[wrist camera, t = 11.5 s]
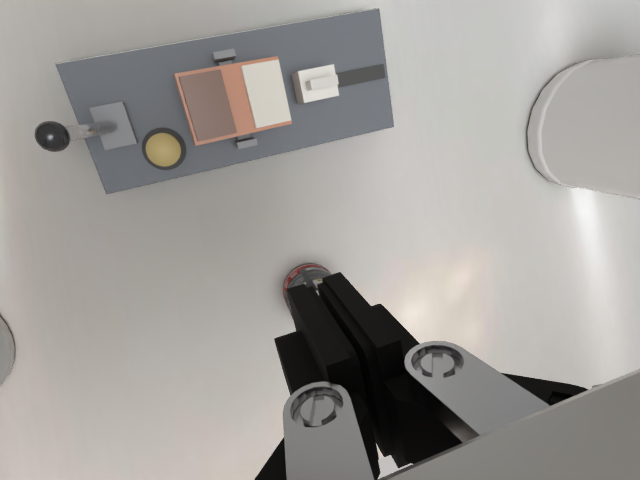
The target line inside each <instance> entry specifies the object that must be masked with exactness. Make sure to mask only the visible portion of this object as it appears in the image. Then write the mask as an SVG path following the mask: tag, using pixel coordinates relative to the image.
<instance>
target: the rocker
mask: <svg viewBox="0 0 640 480" xmlns="http://www.w3.org/2000/svg"><path fill="white" fill-rule="evenodd" d="M173 76H174V79H175V82H176V86H177V89H178V92H179V96H180V99H181V102H182V106H183V109H184V112H185V116H186V119H187V122H188V126H189V129H190V132H191V136H192V139H193V142H194V145H195V146H198V145H202V144H206V143H211V142H215V141H219V140H224V139H228V138H232V137H237V136H241V135H245V134H250V133H254V132H258V131H263V130H267V129H271V128H275V127H280V126H284V125H288V124H292V121H291V115H290V111H289V106H288V101H287V97H286V92H285V87H284V82H283V78H282V73H281V68H280V63H279V59H278V56H275V57H269V58H263V59H257V60H252V61H246V62H240V63H234V64H228V65H222V66H216V67H210V68H205V69H199V70H193V71H187V72H181V73H175V74H174V75H173Z"/></svg>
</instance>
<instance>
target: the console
mask: <svg viewBox="0 0 640 480" xmlns="http://www.w3.org/2000/svg"><path fill="white" fill-rule="evenodd" d="M275 56H278V59H279V63H280V68H281V73H282V78H283V82H284V87H285V92H286V97H287V101H288V106H289V111H290V115H291V121H292V124H288V125H284V126H280V127H275V128H271V129H267V130H263V131H258V132H254V133H250V134H245V135H241V136H237V137H232V138H228V139H224V140H219V141H215V142H211V143H206V144H202V145H198V146H195V145H194V142H193V139H192V136H191V132H190V129H189V126H188V122H187V119H186V116H185V112H184V109H183V106H182V102H181V99H180V96H179V92H178V89H177V86H176V82H175V79H174V76H173V75H174V74H175V73H181V72H187V71H193V70H199V69H205V68H210V67H216V66H222V65H228V64H234V63H240V62H246V61H252V60H257V59H263V58H269V57H275ZM332 64H334V68H335V74H336V75H337V76H338V82H339V84H337V85H338V91H339V96H335V97H330V98H325V99H321V100H316V101H311V102H307V103H300V104H297V99H296V94H295V90H294V85H293V80H292V75H291V74H293V73H295V72H297V71H302V70H307V69H312V68H317V67H322V66H327V65H332ZM56 67H57V69H58V72H59V74H60V77H61V79H62V82H63V85H64V87H65V90H66V92H67V95H68V97H69V100H70V102H71V105H72V107H73V110H74V113H75V115H76V118H77V120H78V123H79V125H81V124H88V123H95V122H102V121H111V122H113V123H114V125H115V131H114V132H112V133H109V134H104V135H99V136H94V137H89V138H85V141H86V143H87V146H88V148H89V151H90V153H91V156H92V159H93V161H94V164H95V166H96V169H97V171H98V174H99V176H100V179H101V181H102V184H103V187H104V189H105V192H106V194H110V193H114V192H118V191H123V190H127V189H131V188H135V187H140V186H144V185H148V184H152V183H157V182H161V181H165V180H169V179H174V178H178V177H182V176H186V175H191V174H195V173H199V172H203V171H208V170H212V169H216V168H220V167H225V166H229V165H233V164H238V163H242V162H246V161H250V160H255V159H259V158H263V157H267V156H272V155H276V154H280V153H284V152H289V151H293V150H297V149H301V148H306V147H310V146H314V145H318V144H323V143H327V142H331V141H335V140H340V139H344V138H348V137H352V136H357V135H361V134H365V133H369V132H374V131H378V130H382V129H386V128H391V127H394V123H393V115H392V107H391V99H390V91H389V83H388V75H387V67H386V59H385V51H384V43H383V35H382V27H381V19H380V11H379V9H376V8H375V9H369V10H363V11H357V12H351V13H345V14H340V15H334V16H328V17H322V18H316V19H310V20H305V21H299V22H293V23H287V24H281V25H275V26H270V27H264V28H258V29H252V30H246V31H240V32H235V33H229V34H223V35H217V36H211V37H205V38H200V39H194V40H188V41H182V42H176V43H170V44H164V45H159V46H153V47H147V48H141V49H135V50H129V51H124V52H118V53H112V54H106V55H100V56H94V57H89V58H83V59H77V60H71V61H65V62H59V63H58V64H56Z"/></svg>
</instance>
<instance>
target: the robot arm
mask: <svg viewBox="0 0 640 480" xmlns="http://www.w3.org/2000/svg"><path fill="white" fill-rule="evenodd" d="M317 288H318V293H319V295H318V293H317V292H316V290H315V289H314V287H313V286H310V287H306V285H305V284H304V283H303V284H300V285H297V286H294V287H290V288H287V289H286V291H287V296H288V300H289V304H290V308H291V312H292V316H293V319H294V323H295V327H296V332H293V333H290V334H287V335H284V336H281V337H278V338H275V339H274V340H275V344H276V347H277V351H278V354H279V358H280V362H281V365H282V369H283V372H284V376H285V379H286V382H287V385H288V389H289V392H290V395H291V396H290V397H289V398H288V400H287V402H286V403H285V405H284V410H283V426H284V438H283V439H282V441H281V442H280V444H279V445H278V447H277V448H276V449H275V451H274V452H273V454H272V455H271V457H270V458H269V459H268V461H267V462H266V464H265V465H264V467H263V468H262V470H261V471H260V472H259V474H258V475H257V477H256V478H255V480H377V479H378V477H379V474H380V469H379V464H378V459H379V458H378V452H377V447H376V444H377V445H378V447H379V449H380V451H381V453H382V454H383V456H384V457H386V456H389V455H391V456H392V458H393V459H394V461H395V463H396V465H397V466H398V468H400V467H402V466H405V465H407V464H410V463H413V465H410V466H408V467H406V468H403V469H401V470H399V471H396V472H394V473H392V474H390V475H387V476H385V477H382V478H380V479H378V480H640V369H638V370H636V371H633V372H631V373H629V374H626V375H624V376H621V377H619V378H616V379H614V380H611V381H609V382H606V383H604V384H600V385H594V386H592V389H590V390H588V389H586V388H583V387H579V386H575V385H571V384H566V383H559V382H553V381H547V380H541V379H535V378H529V377H523V376H517V375H511V374H504V373H500V372H498V371H497V370H495V369H494V368H492V367H491V366H489V365H488V364H486V363H485V362H483V361H482V360H480V359H479V358H477V357H476V356H474V355H472V354H471V353H469V352H468V351H466V350H465V349H463V348H462V347H460V346H458V345H456V344H453V343H449V342H445V341H431V342H425V343H422V344H419V343H418V341H417V340H416V339H415V338H414V337H413V336H412V335H411V334H410V333H409V332H408V331H407V330H406V329H405V328H404V327H403V326H402V325H401V324H400V323H399V322H398V321H397V320H396V319H395V318H394V317H393V316H392V315H391V314H390V312H389V311H388V310H387V309H386V308H385V307H384V306H383V305H381V304H377V305H374V306H370V305H369V304H368V302H367V301H366V300H365V299H364V298H363V297H362V296H361V295H360V294H359V292H358V291H357V290H356V289H355V288H354V287H353V286H352V285H351V283H350V282H349V281H348V280H347V279H346V278H345V277H344V276H343V275H342V273H340V272H339V273H336V274H333V275H329V276H326V277H323V278H322V283H320V284H317ZM14 355H15V347H14V342H13V338H12V335H11V333H10V331H9V329H8V327H7V325H6V324H5V322H4V321H3V320H2V319H1V317H0V386H1V385H2V384H3V382H4V381H5V380H6V378H7V376H8V375H9V373H10V371H11V369H12V365H13V362H14Z"/></svg>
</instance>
